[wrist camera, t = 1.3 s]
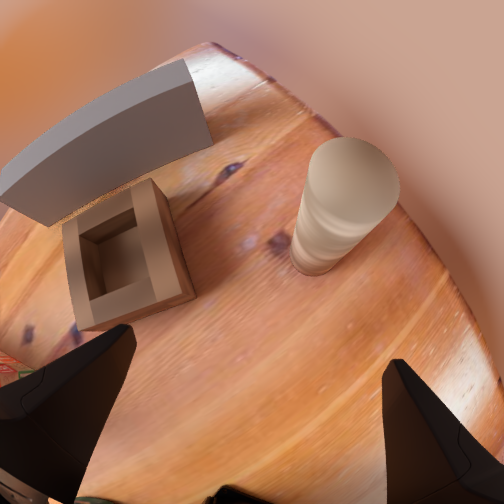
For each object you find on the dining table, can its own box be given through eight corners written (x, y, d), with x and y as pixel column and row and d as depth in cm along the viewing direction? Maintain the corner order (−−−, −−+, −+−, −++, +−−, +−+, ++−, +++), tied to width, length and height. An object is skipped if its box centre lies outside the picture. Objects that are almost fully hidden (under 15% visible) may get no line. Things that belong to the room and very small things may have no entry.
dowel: (342, 243, 23) (408, 164, 10) (323, 284, 22) (384, 239, 9) (302, 222, 23) (329, 124, 11) (281, 262, 23) (292, 191, 10)
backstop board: (213, 144, 26) (192, 80, 17) (48, 227, 26) (-4, 199, 17) (203, 119, 27) (183, 58, 18) (47, 200, 27) (1, 169, 18)
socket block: (197, 297, 22) (182, 293, 18) (103, 331, 22) (78, 331, 18) (166, 197, 25) (150, 177, 21) (84, 237, 25) (61, 224, 21)
